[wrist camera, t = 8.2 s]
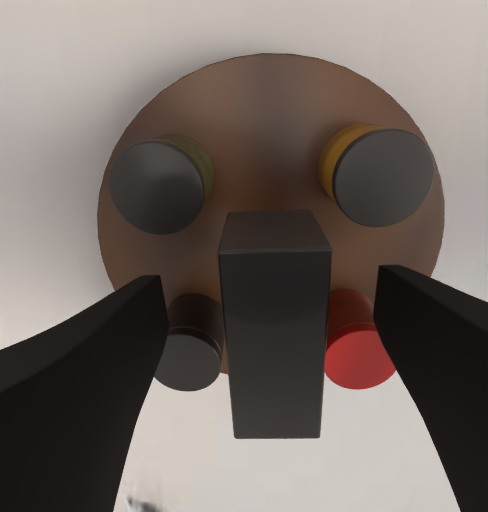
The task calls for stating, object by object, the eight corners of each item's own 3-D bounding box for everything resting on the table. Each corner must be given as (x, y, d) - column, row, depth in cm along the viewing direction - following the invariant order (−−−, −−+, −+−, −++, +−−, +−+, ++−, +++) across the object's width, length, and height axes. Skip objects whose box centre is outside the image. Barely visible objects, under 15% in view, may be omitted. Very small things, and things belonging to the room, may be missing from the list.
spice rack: (137, 370, 19) (67, 526, 12) (65, 69, 12) (-176, 19, 5) (406, 366, 18) (502, 530, 11) (471, 43, 12) (787, -51, 5)
